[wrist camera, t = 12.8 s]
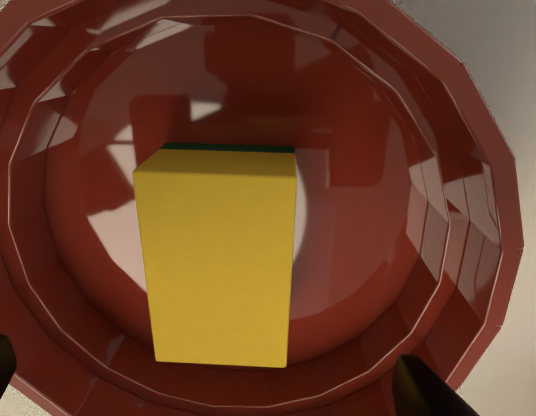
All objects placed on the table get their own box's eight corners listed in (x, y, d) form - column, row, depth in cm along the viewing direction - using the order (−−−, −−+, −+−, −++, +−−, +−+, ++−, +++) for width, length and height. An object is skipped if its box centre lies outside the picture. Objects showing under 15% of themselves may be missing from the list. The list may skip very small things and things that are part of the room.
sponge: (286, 306, 16) (286, 369, 13) (179, 301, 16) (154, 362, 13) (294, 146, 13) (297, 176, 10) (166, 141, 13) (130, 171, 10)
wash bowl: (214, 425, 20) (195, 522, 16) (-65, 183, 15) (-194, 235, 11) (527, 262, 15) (615, 341, 11) (274, -166, 10) (268, -303, 6)
